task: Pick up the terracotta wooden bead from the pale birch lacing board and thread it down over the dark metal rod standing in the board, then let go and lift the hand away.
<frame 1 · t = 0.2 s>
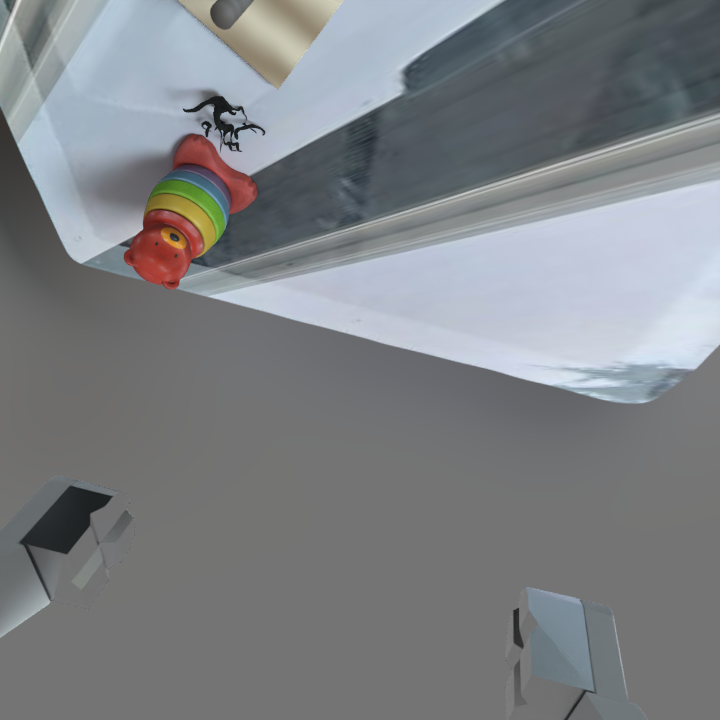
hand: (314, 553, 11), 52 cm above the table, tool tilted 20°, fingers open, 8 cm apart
stacking bear: (211, 179, 71), on the table
creature: (233, 118, 63), on the table
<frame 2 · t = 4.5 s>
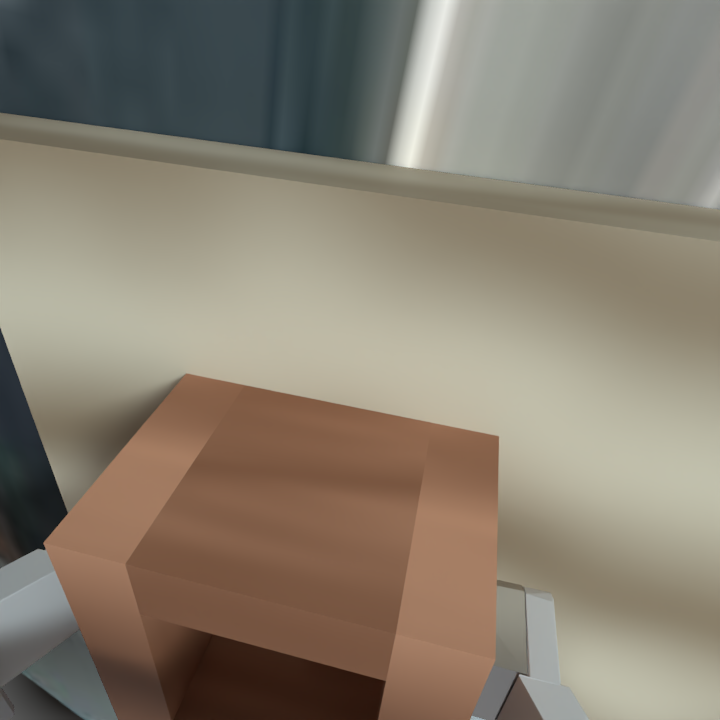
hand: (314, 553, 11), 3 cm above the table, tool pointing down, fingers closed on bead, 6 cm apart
bead: (329, 509, 12), point 1 cm above the table, touching gripper, lacing board
lacing board: (698, 537, 12), on the table
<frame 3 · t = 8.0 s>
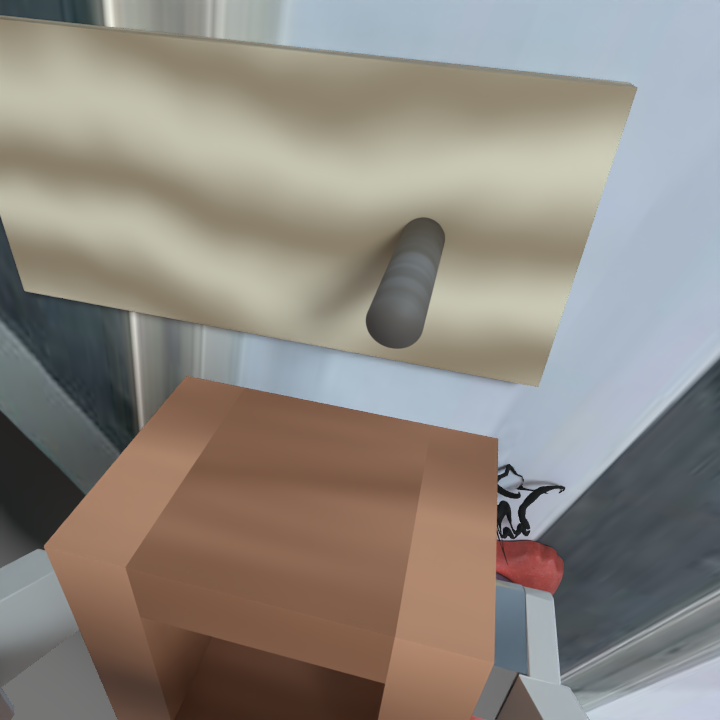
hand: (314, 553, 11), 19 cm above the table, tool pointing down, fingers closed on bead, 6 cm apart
bead: (329, 511, 12), point 18 cm above the table, touching gripper
stacking bear: (472, 567, 40), on the table
lacing board: (270, 203, 27), on the table
creature: (498, 485, 35), on the table
when the fingers open (6 cm above the table, at t = 11.4 s): bead drops 3 cm, resting on lacing board.
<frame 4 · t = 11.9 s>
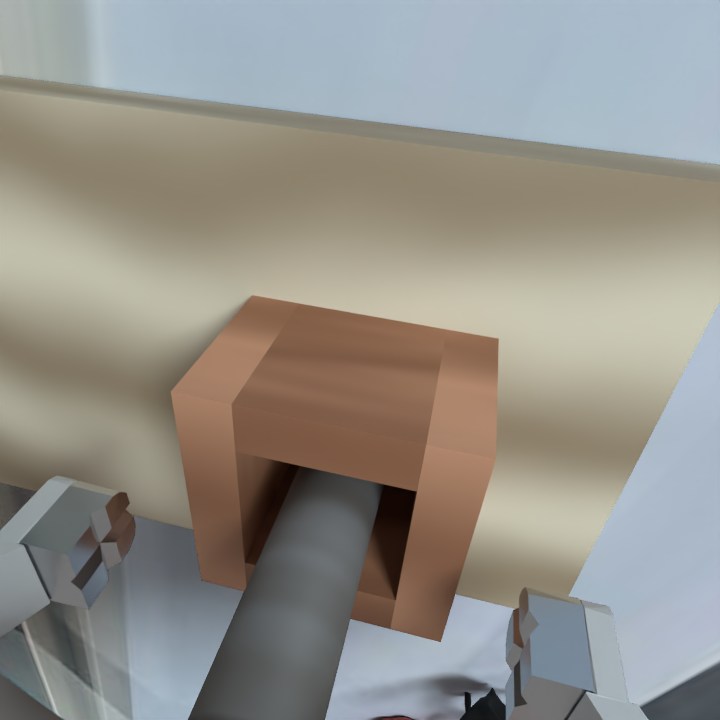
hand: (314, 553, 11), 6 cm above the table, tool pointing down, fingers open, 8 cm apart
bead: (362, 412, 15), point 1 cm above the table, touching lacing board
lacing board: (124, 332, 17), on the table
creature: (514, 703, 25), on the table
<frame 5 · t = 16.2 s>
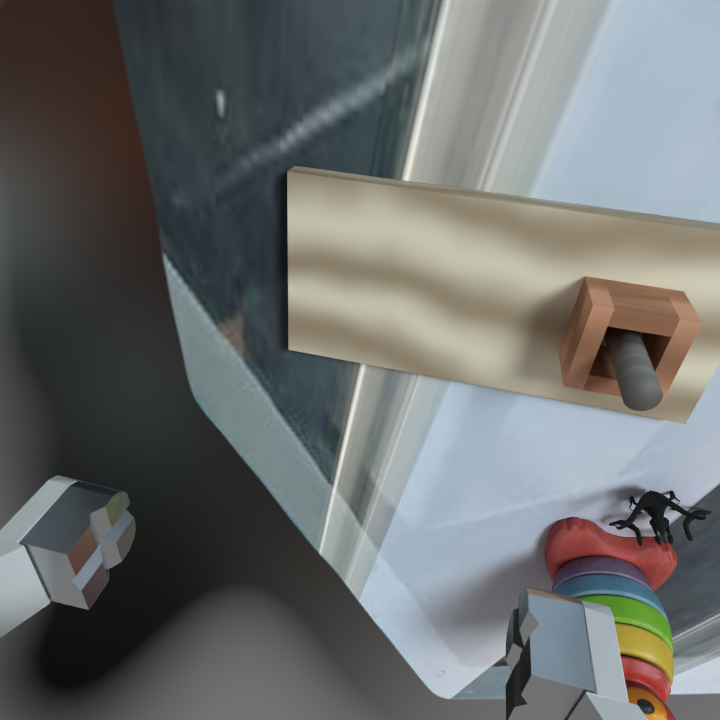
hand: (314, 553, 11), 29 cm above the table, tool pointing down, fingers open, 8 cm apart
bead: (617, 324, 36), point 1 cm above the table, touching lacing board
stacking bear: (598, 558, 51), on the table
lacing board: (496, 294, 38), on the table
creature: (654, 504, 46), on the table
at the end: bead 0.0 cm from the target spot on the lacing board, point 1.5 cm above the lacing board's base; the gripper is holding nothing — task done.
